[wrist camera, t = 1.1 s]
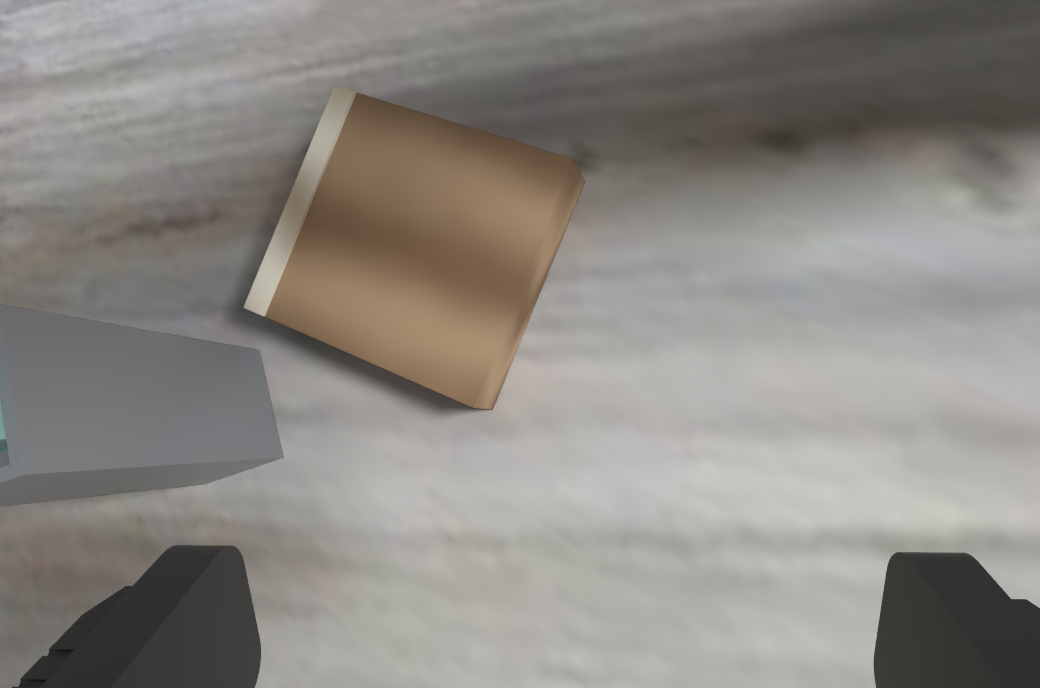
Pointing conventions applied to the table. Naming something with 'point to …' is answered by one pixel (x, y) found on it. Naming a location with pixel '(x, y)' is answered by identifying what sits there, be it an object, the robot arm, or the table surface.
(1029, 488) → the table surface
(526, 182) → the block
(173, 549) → the robot arm
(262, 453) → the carrier
